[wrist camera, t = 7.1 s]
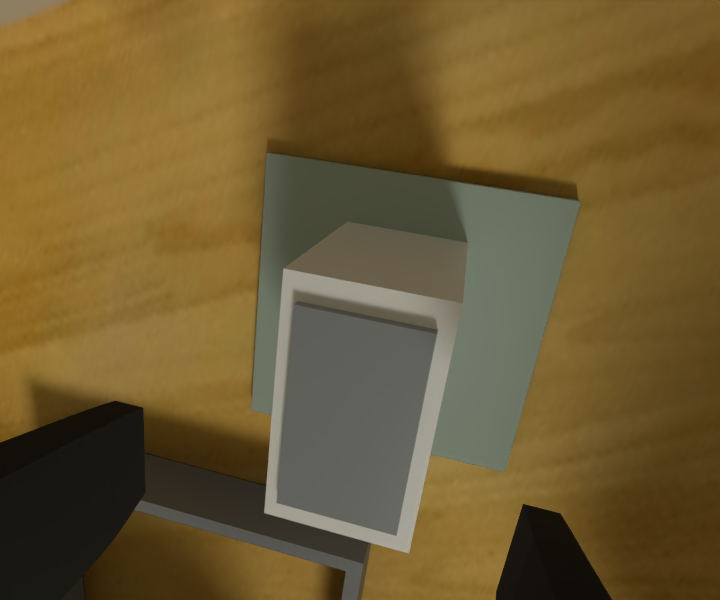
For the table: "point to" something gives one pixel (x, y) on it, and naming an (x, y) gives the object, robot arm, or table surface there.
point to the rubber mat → (481, 289)
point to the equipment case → (242, 519)
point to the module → (362, 379)
